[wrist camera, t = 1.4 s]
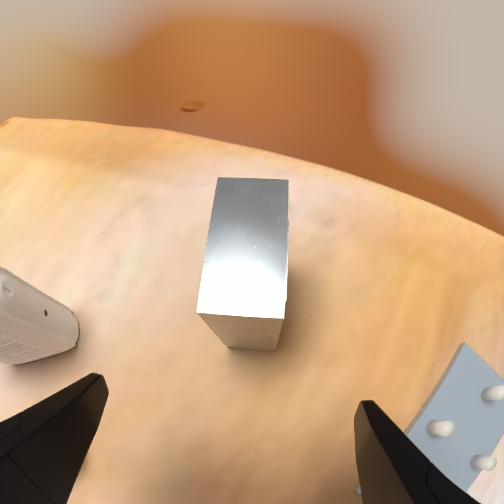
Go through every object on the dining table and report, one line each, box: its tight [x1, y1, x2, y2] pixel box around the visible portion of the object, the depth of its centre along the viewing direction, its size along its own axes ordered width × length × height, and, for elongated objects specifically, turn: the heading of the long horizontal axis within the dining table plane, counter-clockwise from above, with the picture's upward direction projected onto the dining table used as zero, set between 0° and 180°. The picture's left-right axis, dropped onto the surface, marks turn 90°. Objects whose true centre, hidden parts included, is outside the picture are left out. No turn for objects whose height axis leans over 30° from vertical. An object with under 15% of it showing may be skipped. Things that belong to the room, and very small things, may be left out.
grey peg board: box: [355, 343, 504, 495], centre depth 16 cm, size 15×10×3 cm, turn 137°
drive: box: [197, 177, 289, 351], centre depth 19 cm, size 7×4×11 cm, turn 175°
